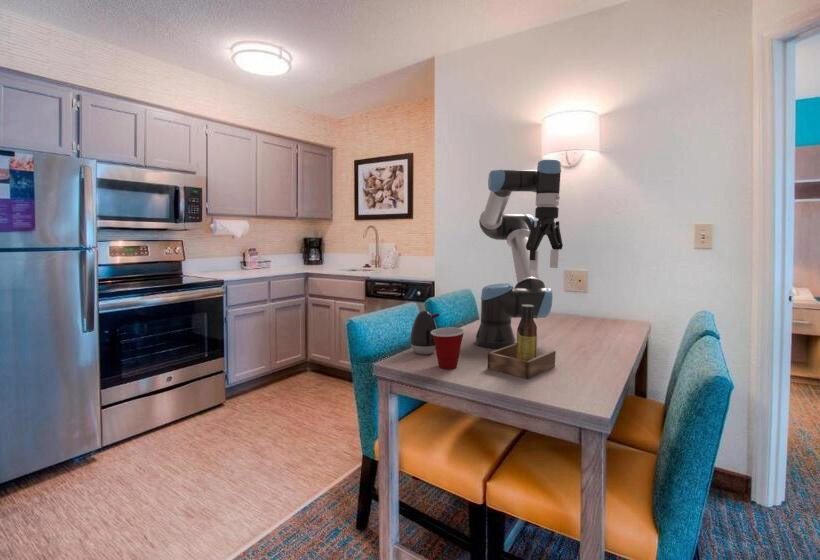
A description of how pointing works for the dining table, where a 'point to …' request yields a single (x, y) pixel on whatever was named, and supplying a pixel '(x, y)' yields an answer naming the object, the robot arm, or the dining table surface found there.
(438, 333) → the plastic cup
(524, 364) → the frame
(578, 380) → the dining table surface
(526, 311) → the sauce bottle
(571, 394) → the dining table surface
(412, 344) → the pump dispenser
